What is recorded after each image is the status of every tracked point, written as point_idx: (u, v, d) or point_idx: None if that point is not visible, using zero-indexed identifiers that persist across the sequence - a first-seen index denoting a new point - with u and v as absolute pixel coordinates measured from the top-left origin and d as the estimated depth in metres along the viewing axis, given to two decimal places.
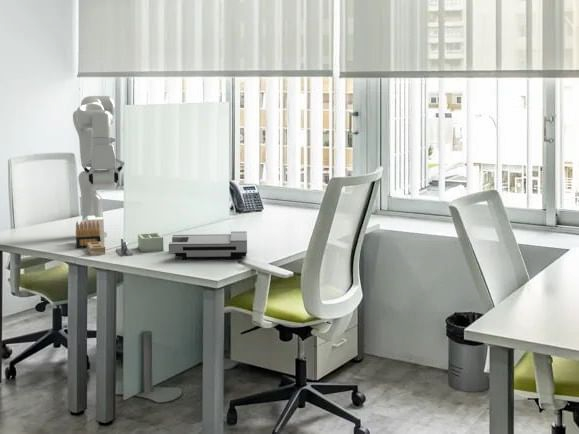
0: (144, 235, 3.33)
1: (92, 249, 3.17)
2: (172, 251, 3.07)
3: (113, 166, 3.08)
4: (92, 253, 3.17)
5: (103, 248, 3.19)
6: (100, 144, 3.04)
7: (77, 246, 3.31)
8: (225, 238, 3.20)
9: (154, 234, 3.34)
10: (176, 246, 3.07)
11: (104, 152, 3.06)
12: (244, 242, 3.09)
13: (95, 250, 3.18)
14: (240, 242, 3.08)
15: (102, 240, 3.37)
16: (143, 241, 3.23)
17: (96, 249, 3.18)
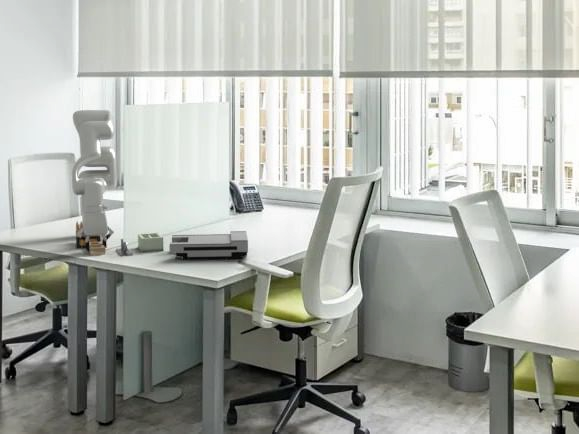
0: (144, 235, 3.33)
1: (92, 249, 3.17)
2: (173, 251, 3.07)
3: (105, 232, 3.22)
4: (92, 253, 3.17)
5: (103, 248, 3.19)
6: (92, 212, 3.18)
7: (77, 246, 3.31)
8: (225, 238, 3.20)
9: (154, 234, 3.34)
10: (177, 246, 3.07)
11: (96, 219, 3.20)
12: (245, 242, 3.09)
13: (95, 250, 3.18)
14: (241, 242, 3.09)
15: (102, 240, 3.37)
16: (143, 241, 3.23)
17: (96, 249, 3.18)
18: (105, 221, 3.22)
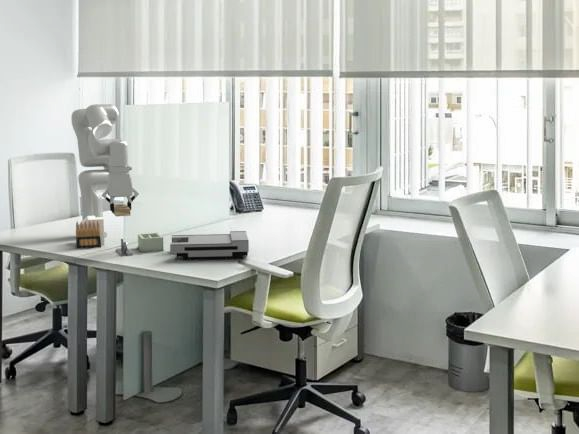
0: (144, 235, 3.33)
1: (117, 210, 3.13)
2: (174, 251, 3.07)
3: (130, 194, 3.18)
4: (117, 214, 3.13)
5: (128, 209, 3.14)
6: (117, 173, 3.13)
7: (77, 246, 3.31)
8: (225, 238, 3.20)
9: (154, 234, 3.34)
10: (178, 247, 3.07)
11: (121, 180, 3.15)
12: (246, 242, 3.09)
13: (120, 211, 3.13)
14: (242, 242, 3.09)
15: (102, 240, 3.37)
16: (143, 241, 3.23)
17: (121, 210, 3.13)
18: (130, 182, 3.17)
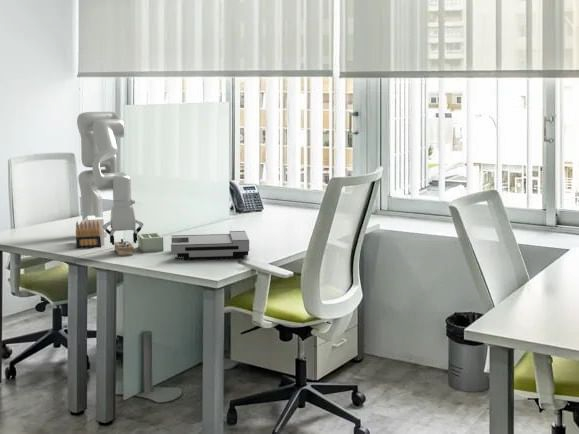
0: (144, 235, 3.33)
1: (120, 249, 3.16)
2: (174, 252, 3.06)
3: (133, 227, 3.20)
4: (120, 253, 3.16)
5: (131, 248, 3.17)
6: (121, 207, 3.16)
7: (77, 246, 3.31)
8: (225, 238, 3.21)
9: (154, 234, 3.34)
10: (179, 247, 3.06)
11: (124, 214, 3.18)
12: (246, 241, 3.10)
13: (123, 250, 3.16)
14: (242, 241, 3.10)
15: (102, 240, 3.37)
16: (143, 241, 3.23)
17: (124, 249, 3.16)
18: (133, 216, 3.20)
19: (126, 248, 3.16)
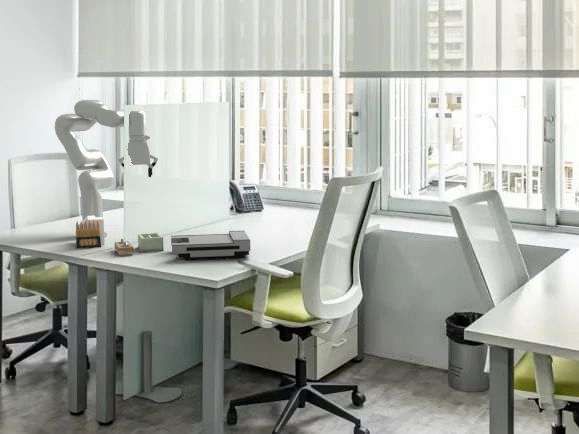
0: (144, 235, 3.33)
1: (120, 249, 3.16)
2: (176, 252, 3.06)
3: (148, 162, 3.33)
4: (120, 253, 3.16)
5: (131, 248, 3.17)
6: (136, 141, 3.28)
7: (77, 246, 3.31)
8: (225, 238, 3.21)
9: (154, 234, 3.34)
10: (180, 247, 3.06)
11: (140, 149, 3.31)
12: (247, 241, 3.11)
13: (123, 250, 3.16)
14: (243, 241, 3.10)
15: (102, 240, 3.37)
16: (143, 241, 3.23)
17: (124, 249, 3.16)
18: (148, 151, 3.32)
19: (126, 248, 3.16)
